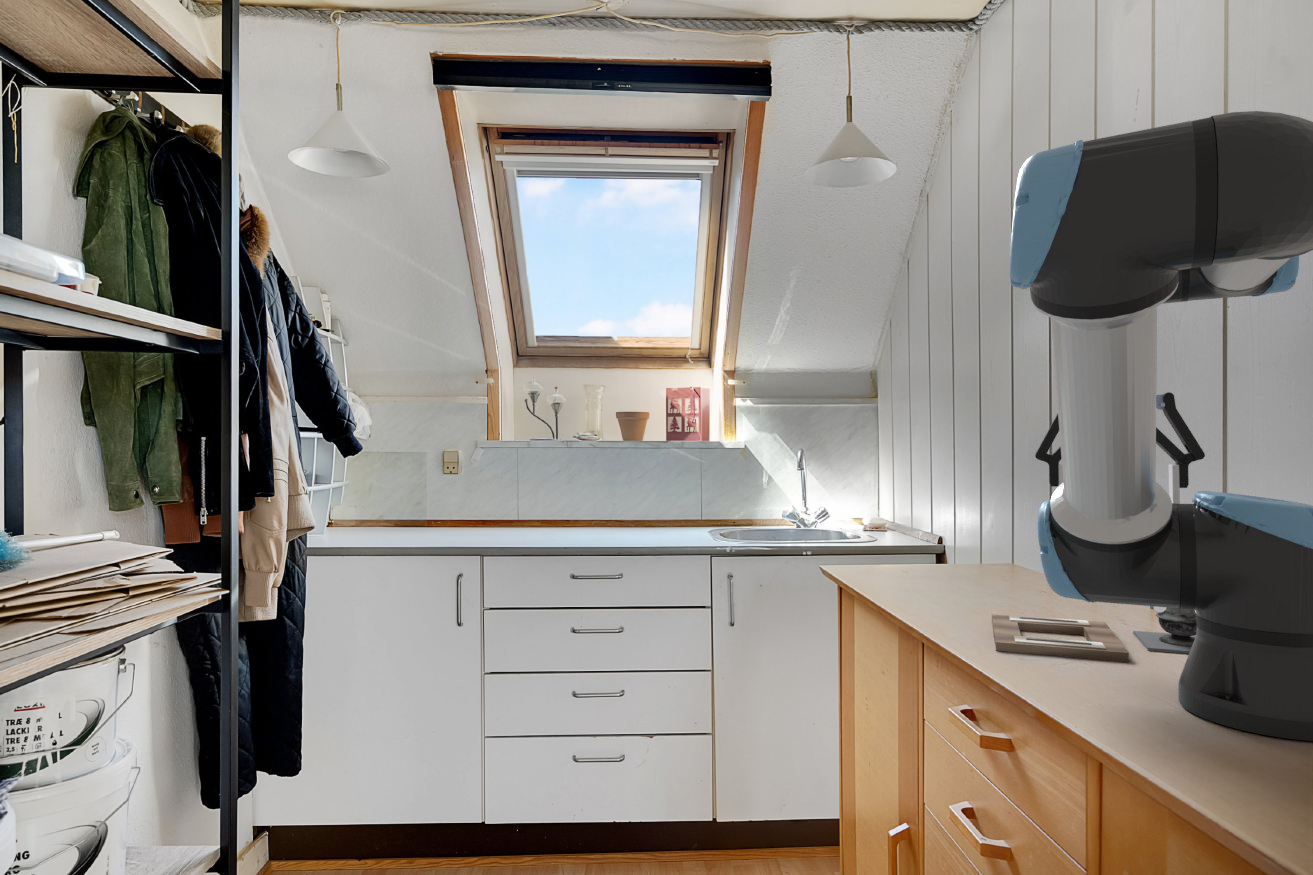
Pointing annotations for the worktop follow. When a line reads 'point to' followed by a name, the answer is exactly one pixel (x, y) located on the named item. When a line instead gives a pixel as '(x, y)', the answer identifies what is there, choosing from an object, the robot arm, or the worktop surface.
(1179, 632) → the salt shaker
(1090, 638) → the label board
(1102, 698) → the worktop surface
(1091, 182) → the robot arm
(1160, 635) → the rubber mat
